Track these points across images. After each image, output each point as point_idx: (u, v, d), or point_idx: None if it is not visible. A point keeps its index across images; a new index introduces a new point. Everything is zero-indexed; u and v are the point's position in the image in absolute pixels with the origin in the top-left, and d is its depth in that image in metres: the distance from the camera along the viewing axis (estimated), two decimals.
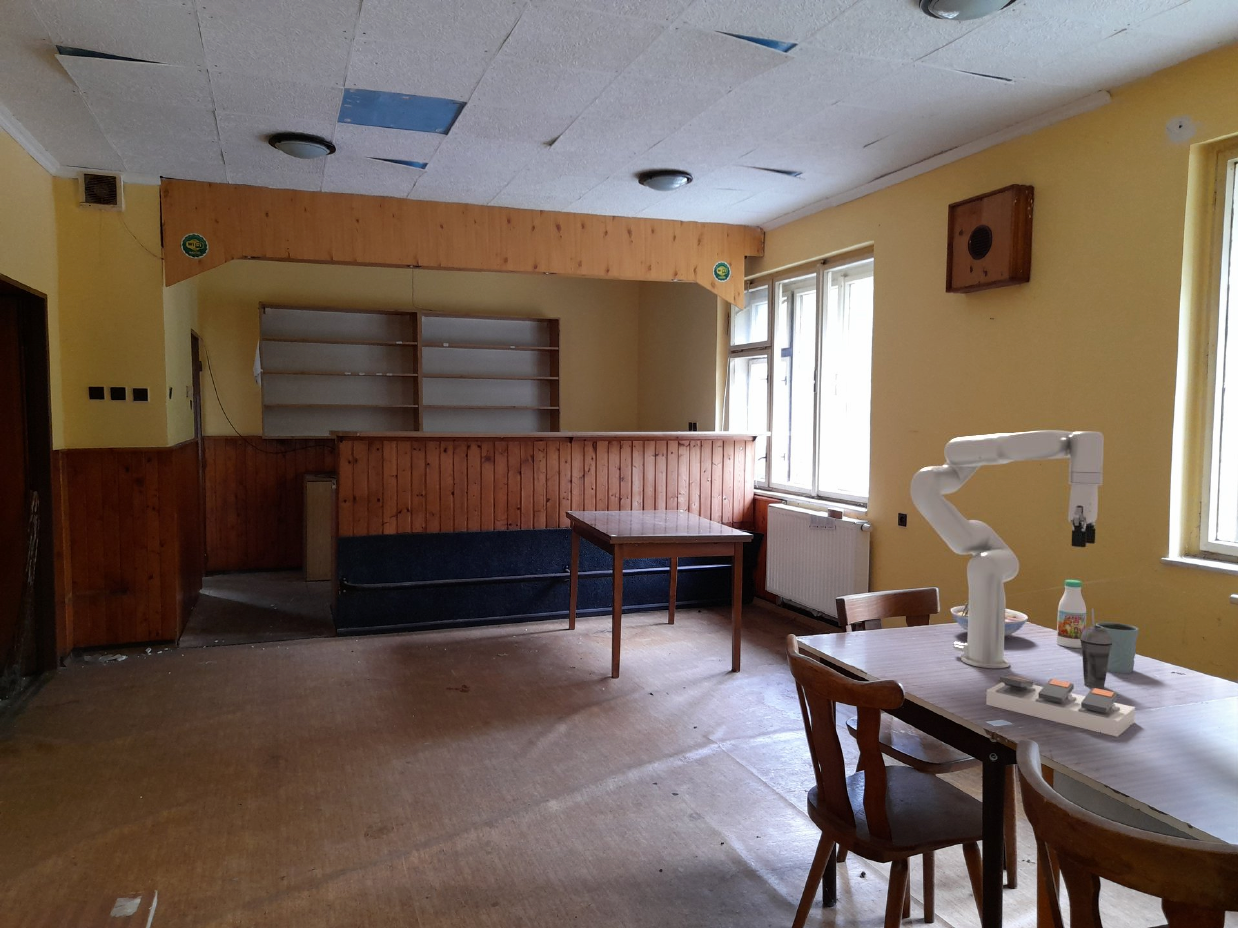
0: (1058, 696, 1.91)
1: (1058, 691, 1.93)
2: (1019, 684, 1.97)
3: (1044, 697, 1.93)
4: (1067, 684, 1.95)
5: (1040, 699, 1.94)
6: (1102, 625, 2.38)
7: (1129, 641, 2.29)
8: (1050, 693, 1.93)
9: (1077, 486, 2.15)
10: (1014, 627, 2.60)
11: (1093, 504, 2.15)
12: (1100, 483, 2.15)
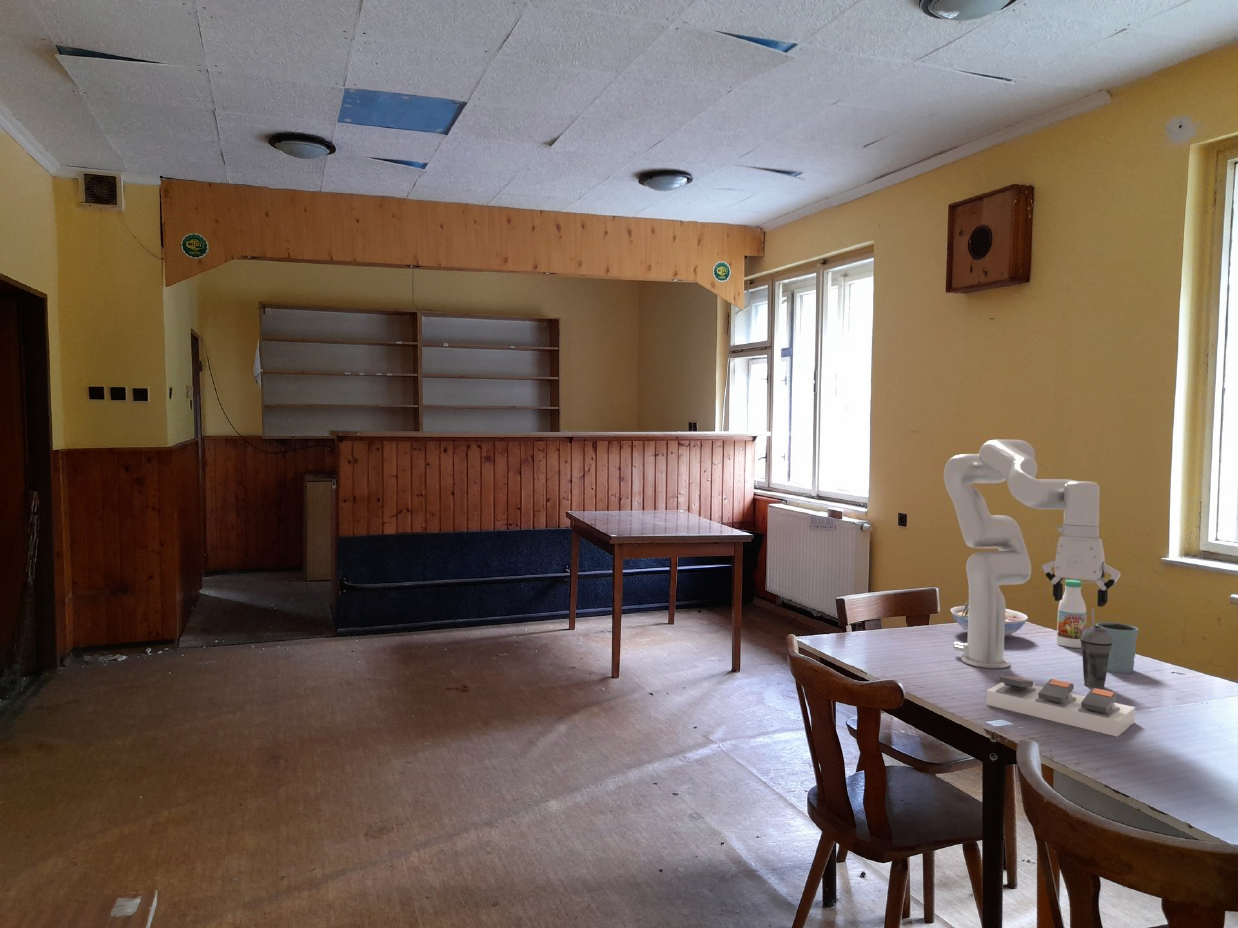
0: (1058, 696, 1.91)
1: (1058, 691, 1.93)
2: (1019, 684, 1.97)
3: (1044, 697, 1.93)
4: (1067, 684, 1.95)
5: (1040, 699, 1.94)
6: (1102, 625, 2.38)
7: (1129, 641, 2.29)
8: (1050, 693, 1.93)
9: (1100, 542, 1.99)
10: (1014, 627, 2.60)
11: None
12: None
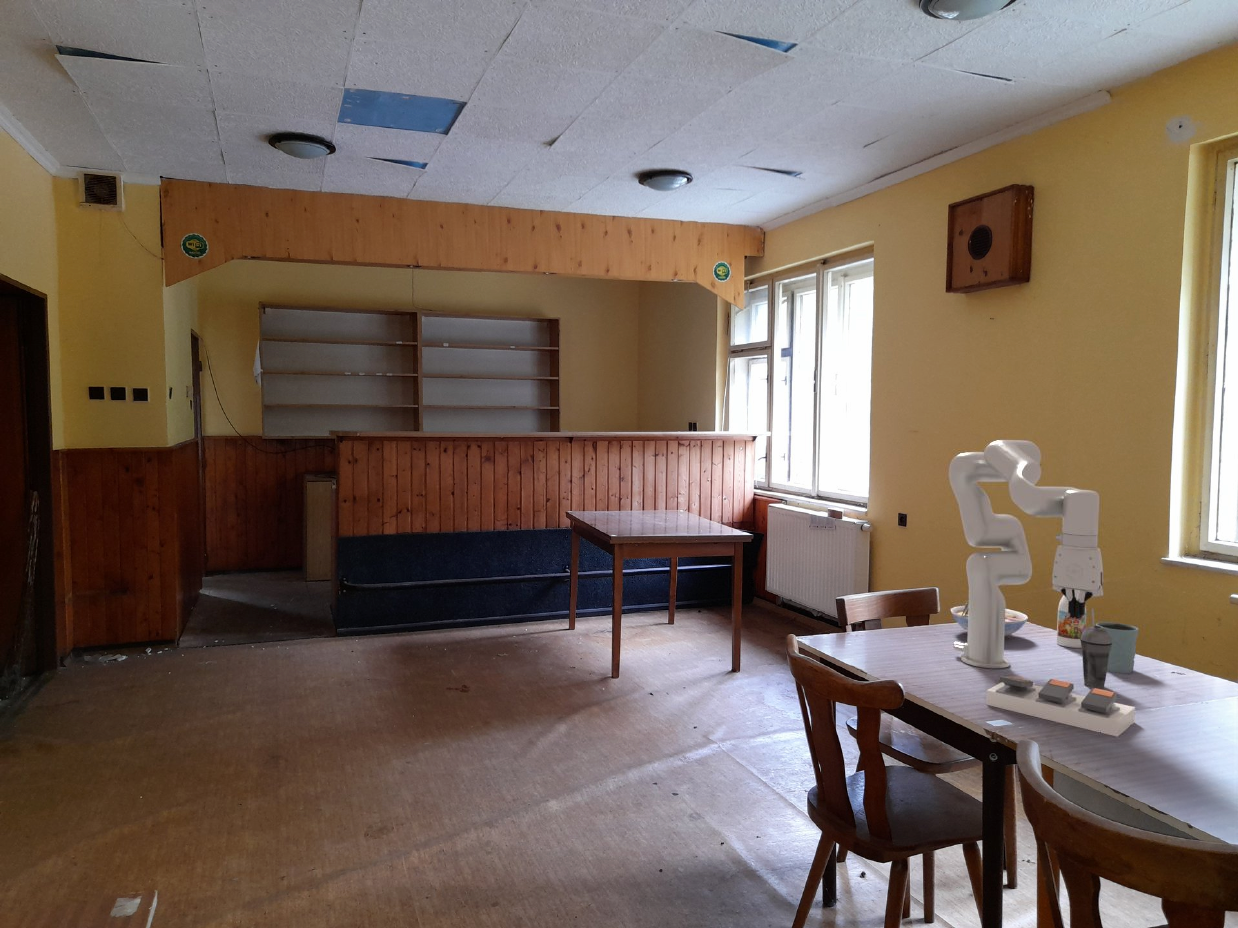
0: (1058, 696, 1.91)
1: (1058, 691, 1.93)
2: (1019, 684, 1.97)
3: (1044, 697, 1.93)
4: (1067, 684, 1.95)
5: (1040, 699, 1.94)
6: (1102, 625, 2.38)
7: (1129, 641, 2.29)
8: (1050, 693, 1.93)
9: (1099, 551, 1.98)
10: (1014, 627, 2.60)
11: None
12: None
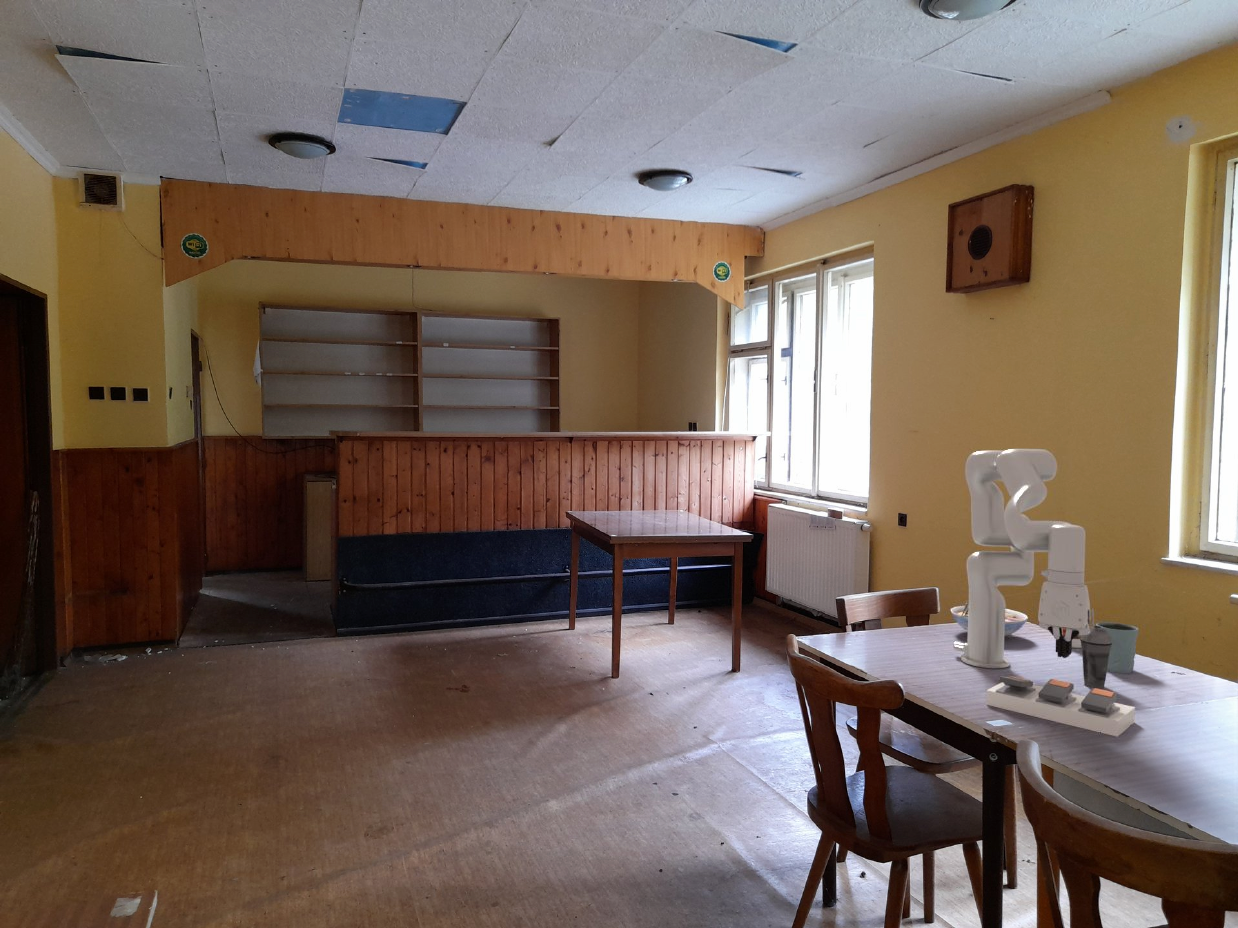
0: (1058, 696, 1.91)
1: (1058, 691, 1.93)
2: (1019, 684, 1.97)
3: (1044, 697, 1.93)
4: (1067, 684, 1.95)
5: (1040, 699, 1.94)
6: (1102, 625, 2.38)
7: (1129, 641, 2.29)
8: (1050, 693, 1.93)
9: (1085, 589, 1.92)
10: (1014, 627, 2.60)
11: None
12: None
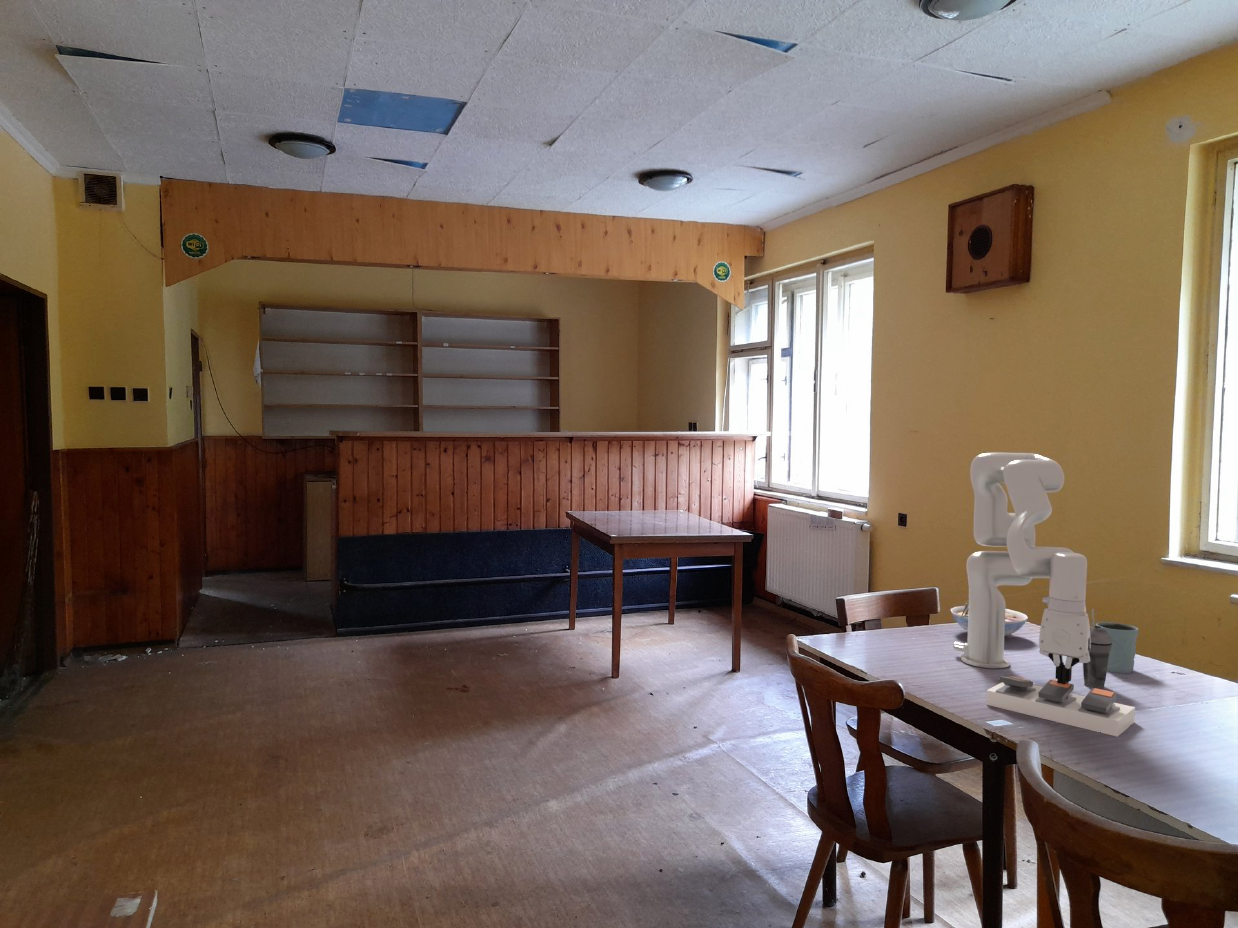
0: (1058, 695, 1.91)
1: (1058, 691, 1.93)
2: (1019, 684, 1.97)
3: (1044, 696, 1.93)
4: (1067, 684, 1.95)
5: (1040, 699, 1.94)
6: (1102, 625, 2.38)
7: (1129, 641, 2.29)
8: (1050, 693, 1.93)
9: (1086, 617, 1.93)
10: (1014, 627, 2.60)
11: None
12: None
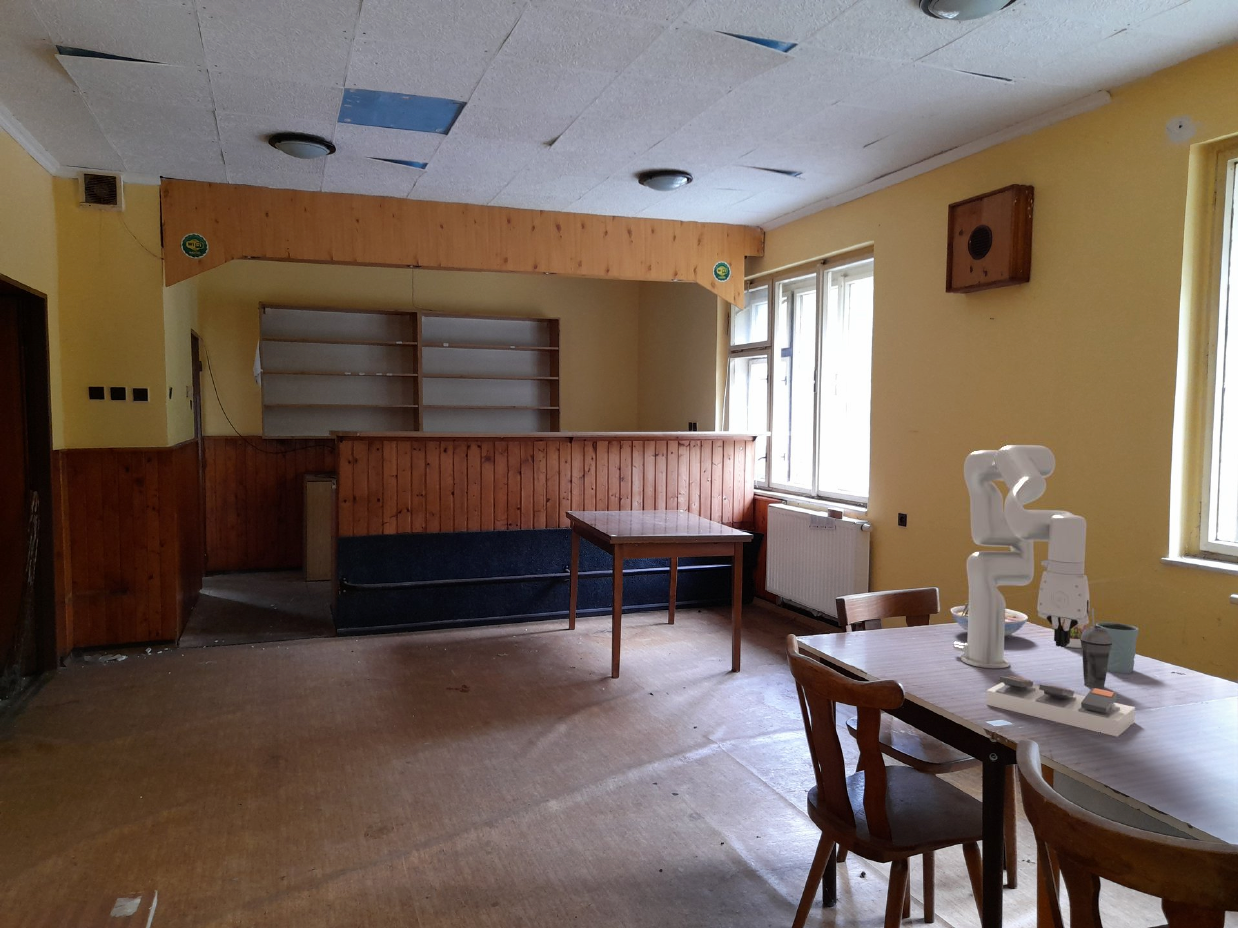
0: (1059, 688, 1.91)
1: None
2: (1019, 684, 1.97)
3: (1045, 689, 1.93)
4: None
5: (1040, 699, 1.94)
6: (1102, 625, 2.38)
7: (1129, 641, 2.29)
8: (1052, 686, 1.93)
9: (1085, 579, 1.92)
10: (1014, 627, 2.60)
11: None
12: None
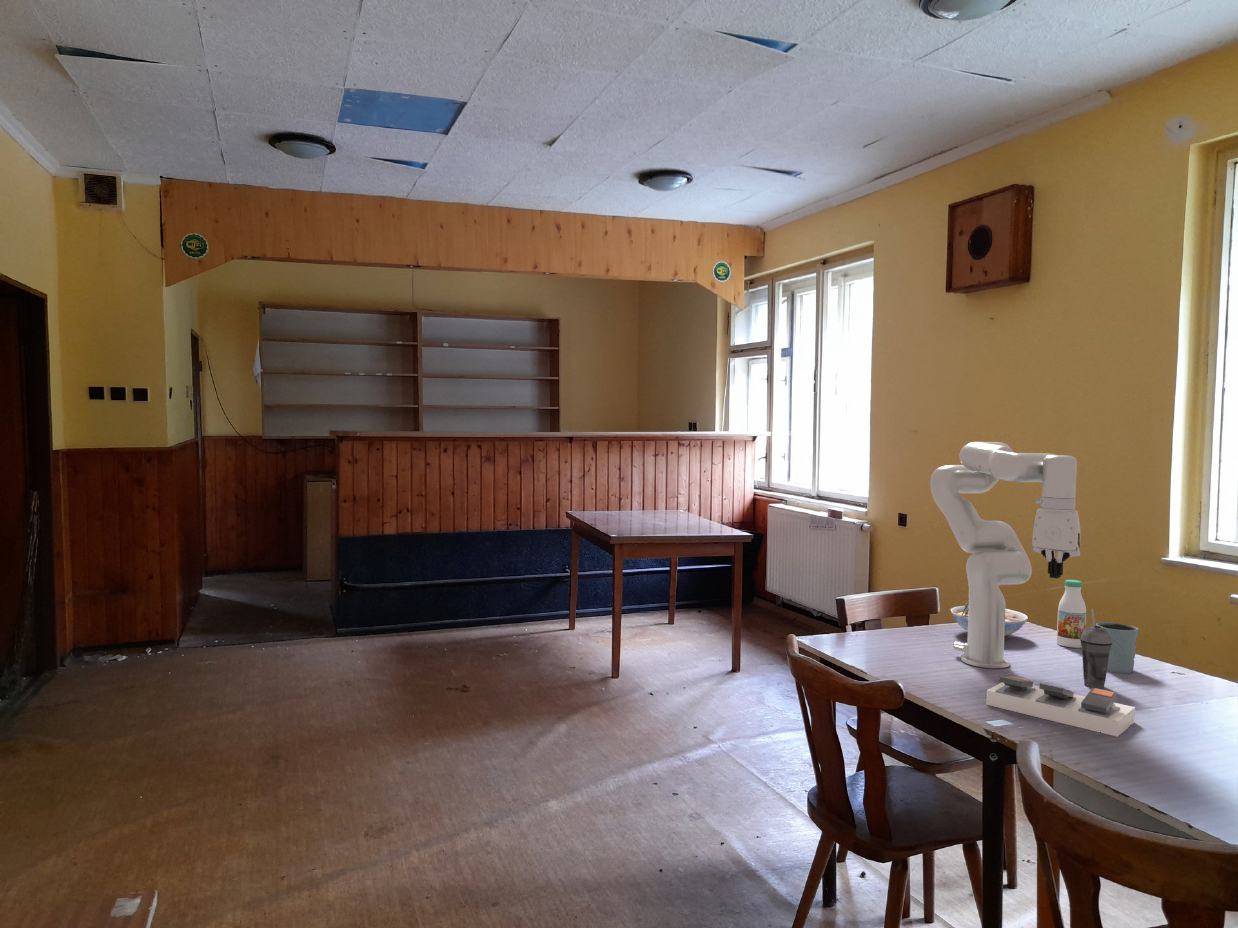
0: None
1: None
2: (1019, 684, 1.97)
3: (1045, 688, 1.93)
4: None
5: (1040, 699, 1.94)
6: (1102, 625, 2.38)
7: (1129, 641, 2.29)
8: (1052, 686, 1.93)
9: (1076, 513, 2.07)
10: (1014, 627, 2.60)
11: None
12: None
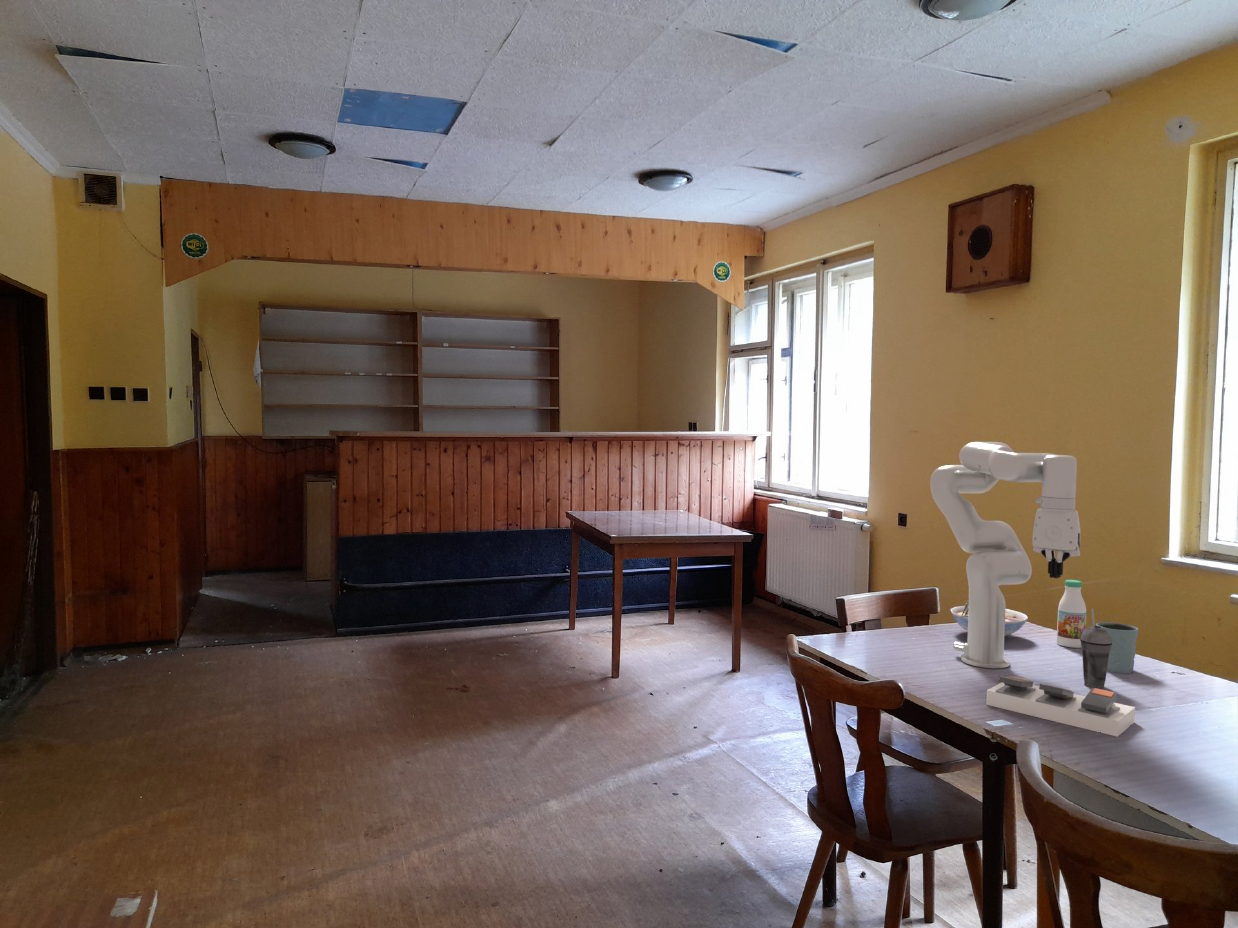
0: (1059, 688, 1.91)
1: None
2: (1019, 684, 1.97)
3: (1045, 688, 1.93)
4: None
5: (1040, 699, 1.94)
6: (1102, 625, 2.38)
7: (1129, 641, 2.29)
8: (1052, 686, 1.93)
9: (1076, 513, 2.07)
10: (1014, 627, 2.60)
11: None
12: None
